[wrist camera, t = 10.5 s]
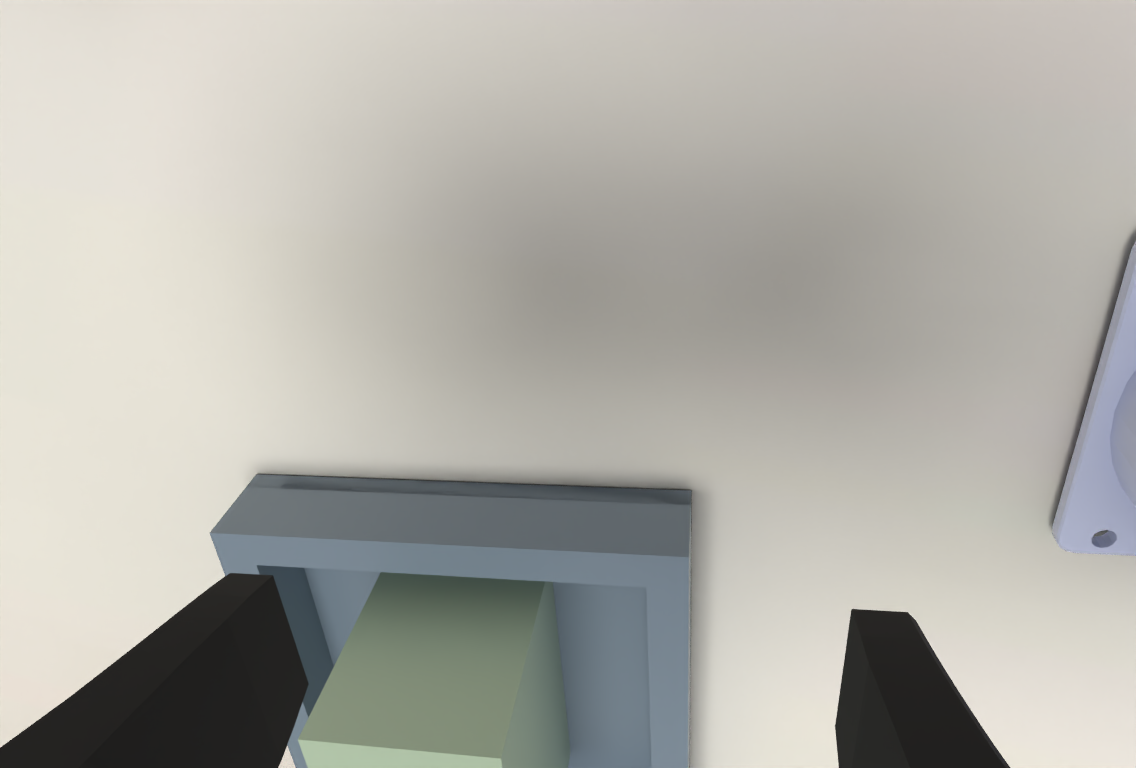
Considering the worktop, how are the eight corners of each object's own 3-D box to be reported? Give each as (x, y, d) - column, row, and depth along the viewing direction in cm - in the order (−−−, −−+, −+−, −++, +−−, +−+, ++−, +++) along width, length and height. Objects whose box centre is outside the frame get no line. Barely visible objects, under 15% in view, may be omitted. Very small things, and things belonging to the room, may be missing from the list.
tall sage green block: (550, 560, 22) (501, 758, 17) (570, 752, 26) (535, 959, 21) (390, 551, 23) (297, 739, 18) (434, 739, 27) (367, 937, 22)
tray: (691, 490, 21) (689, 557, 19) (689, 803, 27) (687, 879, 25) (256, 474, 23) (209, 533, 21) (350, 769, 29) (321, 837, 27)
